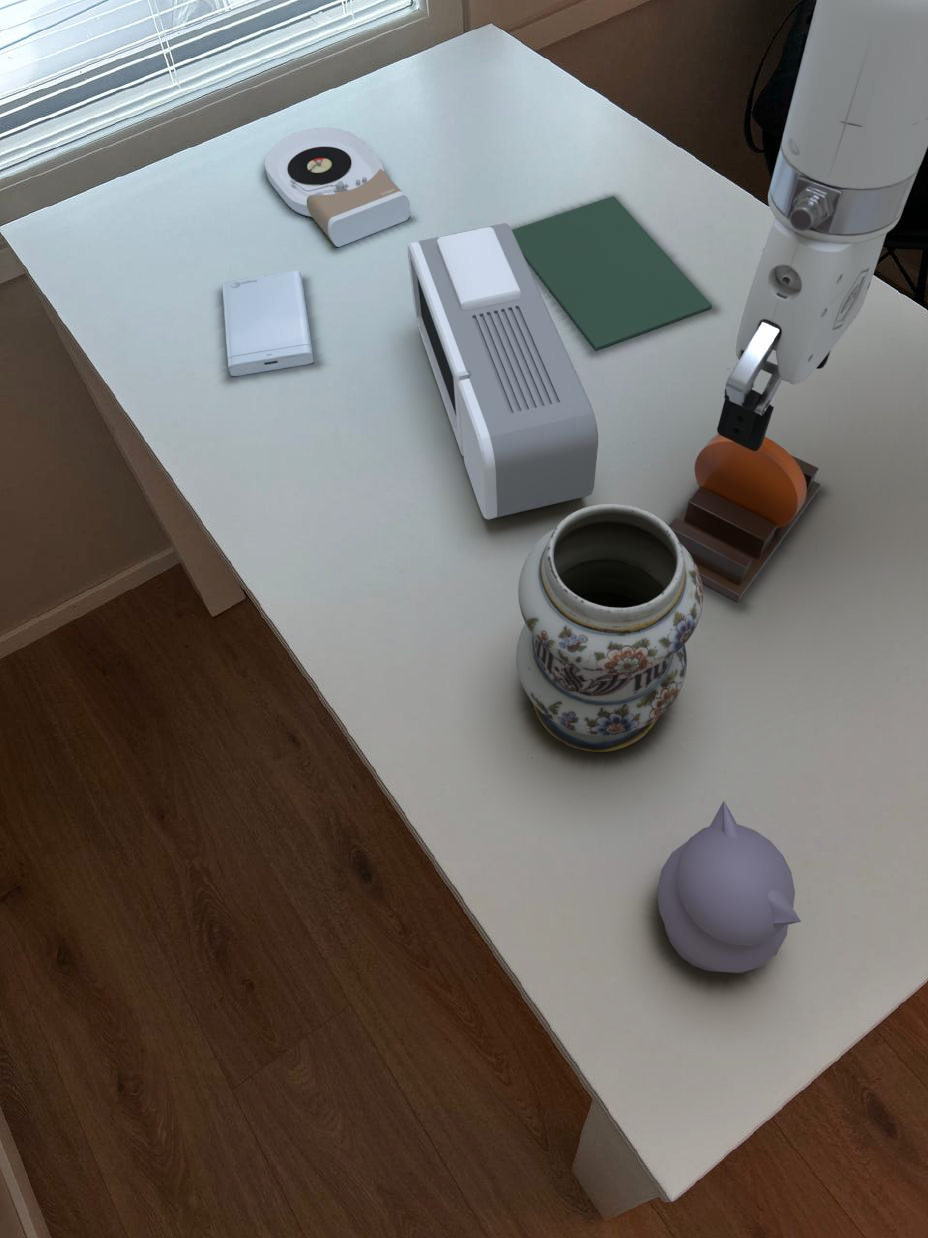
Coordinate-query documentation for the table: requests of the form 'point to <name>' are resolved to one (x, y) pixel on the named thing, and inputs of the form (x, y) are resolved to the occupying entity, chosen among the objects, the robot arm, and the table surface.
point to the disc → (753, 478)
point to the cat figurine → (726, 897)
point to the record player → (335, 183)
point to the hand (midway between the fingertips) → (771, 398)
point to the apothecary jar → (606, 625)
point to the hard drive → (266, 323)
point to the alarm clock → (502, 372)
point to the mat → (608, 272)
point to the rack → (732, 537)
